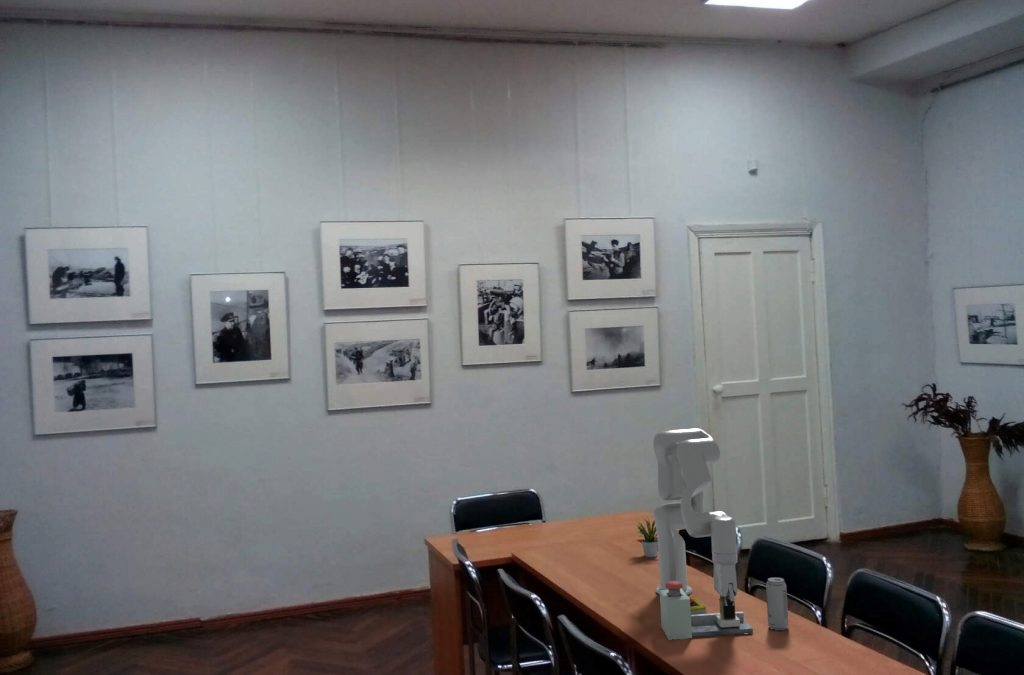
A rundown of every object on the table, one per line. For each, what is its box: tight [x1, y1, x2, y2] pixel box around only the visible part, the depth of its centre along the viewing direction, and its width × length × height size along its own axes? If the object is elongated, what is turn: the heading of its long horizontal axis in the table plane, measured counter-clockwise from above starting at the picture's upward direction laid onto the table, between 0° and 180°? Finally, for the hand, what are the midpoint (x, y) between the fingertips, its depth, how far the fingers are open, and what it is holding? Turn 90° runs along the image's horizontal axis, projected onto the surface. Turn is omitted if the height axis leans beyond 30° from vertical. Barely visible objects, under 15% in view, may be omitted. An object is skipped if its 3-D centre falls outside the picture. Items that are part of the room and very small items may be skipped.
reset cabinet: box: [659, 589, 692, 641], centre depth 268 cm, size 11×7×12 cm, turn 2°
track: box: [691, 611, 754, 638], centre depth 269 cm, size 9×19×4 cm, turn 92°
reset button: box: [665, 581, 683, 597], centre depth 268 cm, size 5×5×6 cm
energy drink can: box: [765, 576, 789, 631], centre depth 268 cm, size 6×6×15 cm
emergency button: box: [689, 597, 708, 615], centre depth 289 cm, size 9×4×15 cm
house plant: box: [636, 517, 659, 558], centre depth 363 cm, size 14×14×16 cm
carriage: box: [716, 598, 740, 627], centre depth 269 cm, size 5×6×8 cm
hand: (727, 615), depth 269 cm, fingers closed on carriage, 3 cm apart
